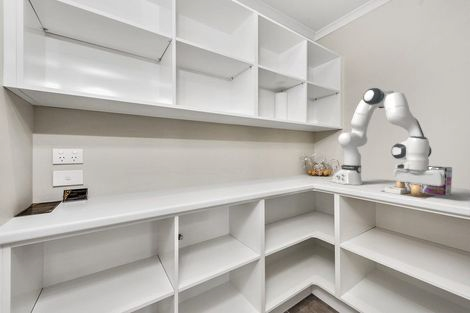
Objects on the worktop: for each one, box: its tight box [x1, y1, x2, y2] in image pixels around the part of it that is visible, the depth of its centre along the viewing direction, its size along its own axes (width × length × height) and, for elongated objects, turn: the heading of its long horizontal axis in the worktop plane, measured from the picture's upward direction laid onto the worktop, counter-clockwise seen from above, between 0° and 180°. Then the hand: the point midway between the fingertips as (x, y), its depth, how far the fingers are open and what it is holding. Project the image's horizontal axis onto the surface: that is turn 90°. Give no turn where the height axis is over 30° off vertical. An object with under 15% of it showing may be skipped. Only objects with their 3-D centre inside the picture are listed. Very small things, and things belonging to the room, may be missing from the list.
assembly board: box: [381, 189, 436, 200], centre depth 109 cm, size 20×15×1 cm
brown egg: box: [410, 183, 422, 198], centre depth 103 cm, size 4×4×6 cm
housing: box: [384, 181, 411, 195], centre depth 112 cm, size 8×14×6 cm, turn 118°
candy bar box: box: [421, 165, 453, 196], centre depth 111 cm, size 11×5×16 cm, turn 13°
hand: (416, 191), depth 103 cm, fingers closed on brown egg, 4 cm apart
